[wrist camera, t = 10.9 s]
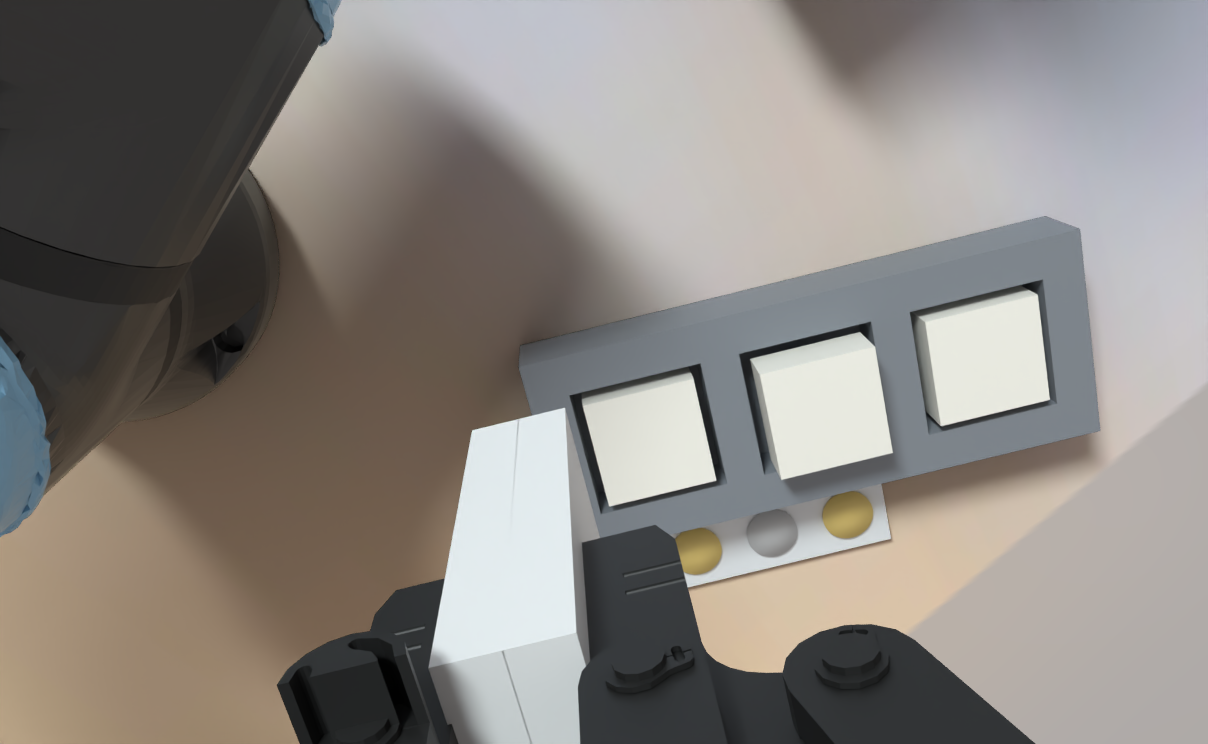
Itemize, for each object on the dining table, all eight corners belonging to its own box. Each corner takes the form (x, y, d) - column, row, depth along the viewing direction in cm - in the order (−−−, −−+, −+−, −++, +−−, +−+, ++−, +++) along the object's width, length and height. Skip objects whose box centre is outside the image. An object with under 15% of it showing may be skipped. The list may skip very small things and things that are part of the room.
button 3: (923, 408, 52) (940, 426, 50) (908, 309, 51) (925, 322, 48) (1027, 383, 52) (1049, 399, 50) (1015, 282, 51) (1037, 294, 48)
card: (666, 588, 56) (667, 594, 56) (649, 521, 55) (650, 527, 55) (888, 535, 56) (892, 540, 56) (876, 466, 55) (880, 471, 54)
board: (570, 526, 55) (572, 558, 52) (520, 345, 52) (518, 367, 49) (1066, 406, 54) (1100, 430, 51) (1045, 216, 51) (1080, 228, 48)
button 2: (770, 459, 51) (781, 479, 49) (749, 358, 49) (759, 374, 47) (877, 434, 51) (892, 452, 49) (859, 332, 49) (874, 346, 47)
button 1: (606, 485, 53) (609, 506, 50) (580, 389, 51) (582, 406, 49) (709, 461, 53) (716, 480, 50) (686, 363, 51) (693, 379, 49)
